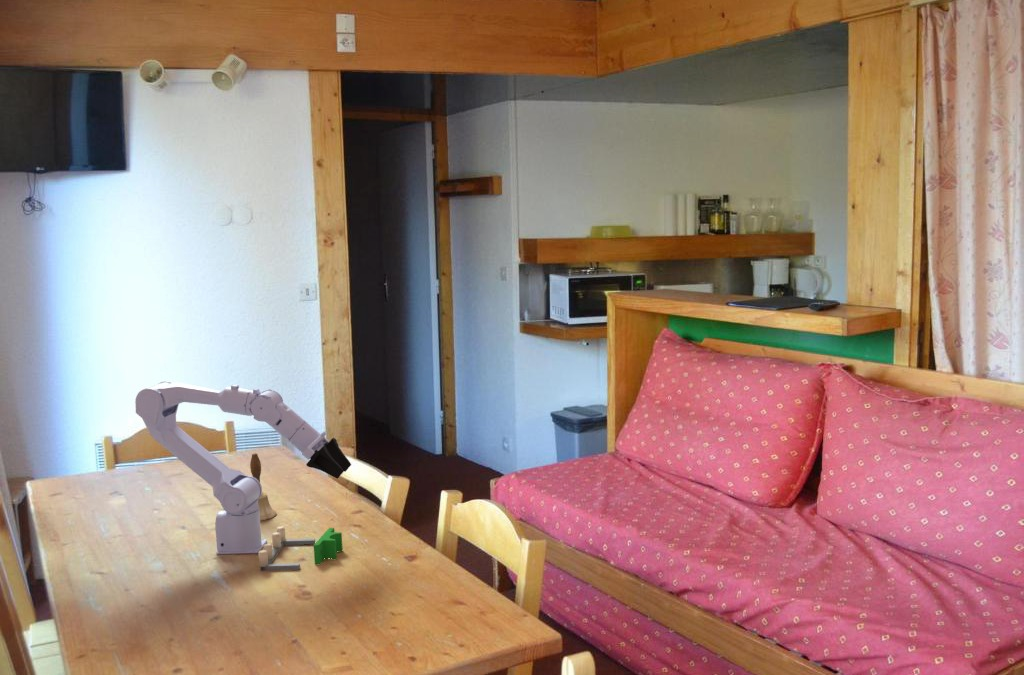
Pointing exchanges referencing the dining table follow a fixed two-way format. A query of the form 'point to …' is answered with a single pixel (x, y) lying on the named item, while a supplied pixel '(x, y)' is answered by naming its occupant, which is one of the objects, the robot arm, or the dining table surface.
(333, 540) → the pipe clamp
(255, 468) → the hand bell
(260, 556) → the peg cradle
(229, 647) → the dining table surface
